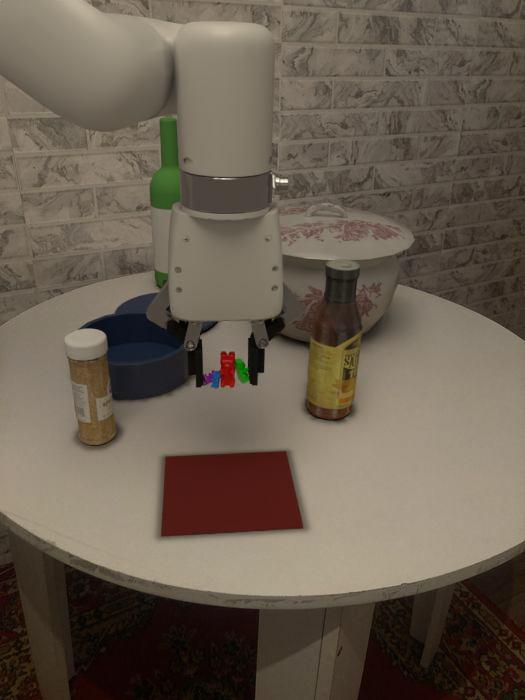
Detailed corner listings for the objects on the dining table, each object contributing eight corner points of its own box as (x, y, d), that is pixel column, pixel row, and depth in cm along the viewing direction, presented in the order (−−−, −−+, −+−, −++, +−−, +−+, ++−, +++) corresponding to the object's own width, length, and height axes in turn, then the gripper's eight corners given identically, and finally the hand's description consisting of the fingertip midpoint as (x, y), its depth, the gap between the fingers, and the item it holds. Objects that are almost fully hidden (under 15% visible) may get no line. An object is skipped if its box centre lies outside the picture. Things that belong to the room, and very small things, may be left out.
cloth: (161, 536, 58) (161, 534, 58) (165, 458, 68) (165, 456, 68) (303, 528, 59) (303, 525, 59) (286, 452, 70) (286, 450, 70)
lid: (109, 342, 93) (105, 309, 90) (120, 297, 108) (117, 268, 106) (221, 339, 95) (221, 307, 92) (217, 296, 110) (217, 267, 107)
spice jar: (120, 441, 71) (110, 341, 65) (81, 450, 69) (66, 348, 63) (112, 420, 75) (101, 324, 68) (75, 428, 73) (60, 330, 66)
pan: (66, 401, 78) (61, 366, 76) (86, 342, 93) (82, 312, 90) (193, 397, 80) (192, 362, 77) (193, 340, 94) (192, 309, 92)
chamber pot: (435, 337, 98) (458, 212, 88) (303, 383, 84) (313, 241, 74) (325, 282, 118) (334, 175, 108) (204, 312, 104) (201, 193, 94)
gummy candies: (198, 390, 57) (197, 358, 56) (202, 375, 60) (200, 344, 58) (250, 391, 57) (250, 359, 55) (251, 377, 59) (252, 346, 58)
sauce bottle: (347, 426, 75) (364, 278, 65) (299, 416, 77) (309, 270, 67) (357, 399, 80) (374, 259, 71) (312, 390, 82) (323, 253, 73)
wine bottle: (156, 293, 111) (145, 121, 96) (154, 277, 117) (143, 115, 103) (197, 290, 112) (193, 121, 98) (193, 275, 119) (188, 115, 104)
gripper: (317, 181, 54) (304, 358, 62) (125, 180, 52) (140, 363, 60) (335, 202, 47) (318, 397, 56) (116, 202, 45) (134, 404, 54)
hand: (226, 377), depth 58 cm, fingers closed on gummy candies, 4 cm apart
